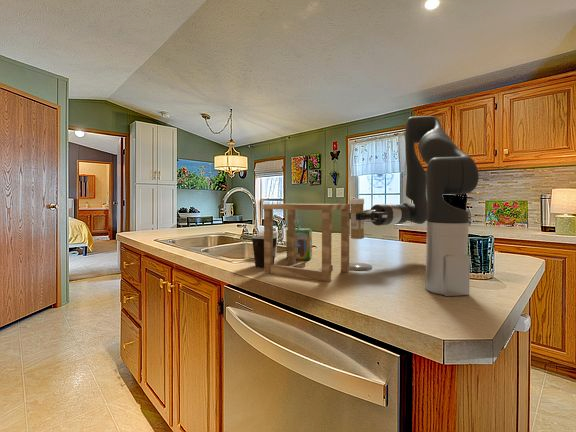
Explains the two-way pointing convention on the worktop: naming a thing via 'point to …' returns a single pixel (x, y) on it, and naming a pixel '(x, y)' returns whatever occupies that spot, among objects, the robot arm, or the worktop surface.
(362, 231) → the sprinkles bottle
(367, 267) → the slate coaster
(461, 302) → the worktop surface
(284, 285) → the worktop surface
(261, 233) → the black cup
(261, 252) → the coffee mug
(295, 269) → the oak shelf
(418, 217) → the robot arm
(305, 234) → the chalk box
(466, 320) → the worktop surface
